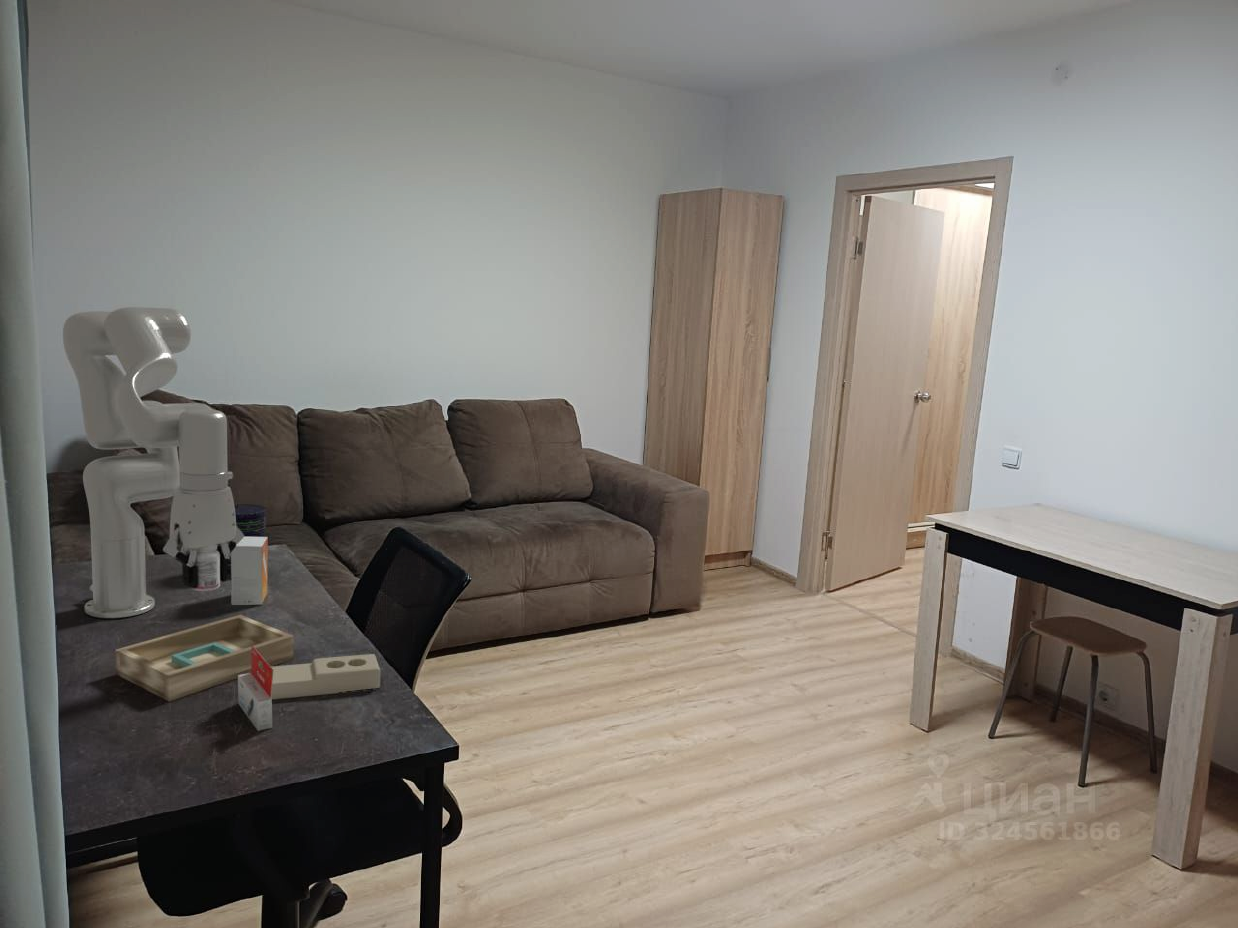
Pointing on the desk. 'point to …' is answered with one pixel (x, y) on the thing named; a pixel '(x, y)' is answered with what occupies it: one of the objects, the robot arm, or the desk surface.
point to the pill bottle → (208, 568)
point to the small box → (249, 571)
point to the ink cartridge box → (257, 692)
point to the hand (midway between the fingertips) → (205, 581)
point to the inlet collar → (199, 653)
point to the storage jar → (249, 522)
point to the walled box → (202, 656)
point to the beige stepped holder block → (326, 676)
